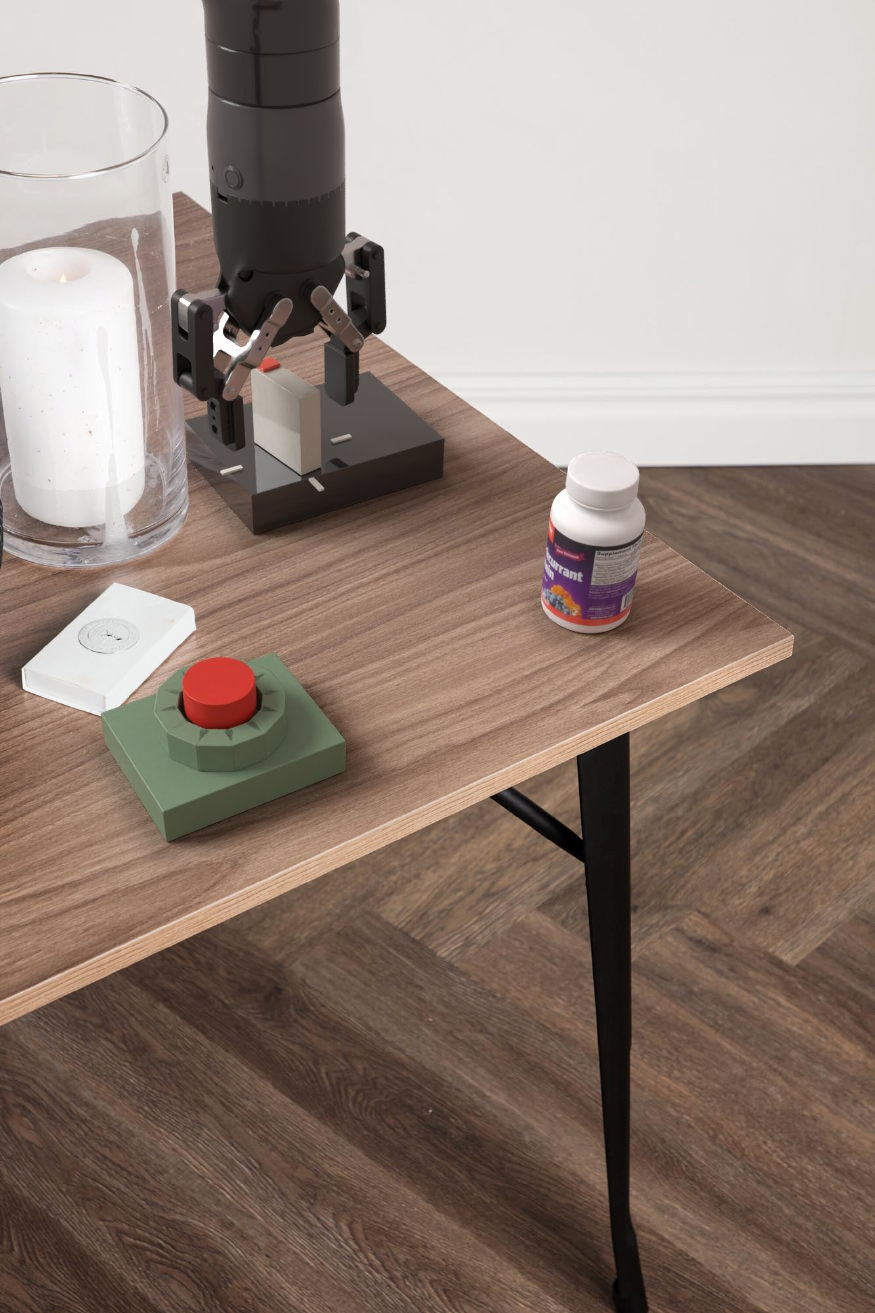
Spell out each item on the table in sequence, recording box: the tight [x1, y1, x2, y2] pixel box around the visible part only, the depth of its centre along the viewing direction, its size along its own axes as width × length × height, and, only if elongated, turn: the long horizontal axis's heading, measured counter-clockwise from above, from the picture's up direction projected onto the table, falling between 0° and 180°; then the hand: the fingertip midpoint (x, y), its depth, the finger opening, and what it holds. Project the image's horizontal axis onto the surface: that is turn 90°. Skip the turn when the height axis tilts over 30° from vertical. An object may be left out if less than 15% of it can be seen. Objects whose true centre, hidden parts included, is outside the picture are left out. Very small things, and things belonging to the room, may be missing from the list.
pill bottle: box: [540, 450, 647, 634], centre depth 81 cm, size 5×5×10 cm
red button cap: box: [182, 656, 257, 729], centre depth 71 cm, size 4×4×2 cm
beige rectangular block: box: [250, 356, 321, 475], centre depth 88 cm, size 5×2×6 cm, turn 42°
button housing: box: [100, 651, 347, 843], centre depth 72 cm, size 10×8×4 cm
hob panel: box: [184, 370, 446, 536], centre depth 93 cm, size 15×12×3 cm
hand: (286, 421), depth 89 cm, fingers open, 8 cm apart
